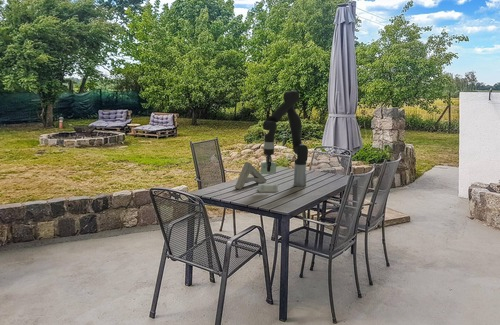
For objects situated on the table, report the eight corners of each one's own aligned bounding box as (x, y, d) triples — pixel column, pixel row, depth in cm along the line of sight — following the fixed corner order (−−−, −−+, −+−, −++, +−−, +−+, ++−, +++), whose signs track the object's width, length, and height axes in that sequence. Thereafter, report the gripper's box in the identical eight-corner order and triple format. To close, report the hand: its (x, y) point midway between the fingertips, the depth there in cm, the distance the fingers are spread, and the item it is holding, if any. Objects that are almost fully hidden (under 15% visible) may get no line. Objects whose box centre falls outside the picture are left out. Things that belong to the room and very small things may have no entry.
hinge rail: (276, 189, 289) (276, 182, 288) (278, 191, 281) (278, 185, 280) (258, 189, 287) (258, 182, 287) (259, 191, 280) (259, 185, 279)
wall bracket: (257, 204, 306) (239, 188, 284) (253, 203, 309) (234, 187, 287) (266, 179, 314) (249, 162, 291) (262, 179, 316) (245, 162, 294)
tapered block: (275, 173, 284) (275, 162, 282) (276, 174, 281) (276, 162, 279) (260, 173, 283) (261, 162, 281) (261, 174, 280) (261, 162, 278)
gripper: (275, 149, 273) (274, 172, 275) (272, 146, 286) (271, 169, 289) (265, 149, 272) (264, 172, 275) (262, 146, 285) (262, 169, 288)
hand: (268, 171), depth 282 cm, fingers closed on tapered block, 2 cm apart
